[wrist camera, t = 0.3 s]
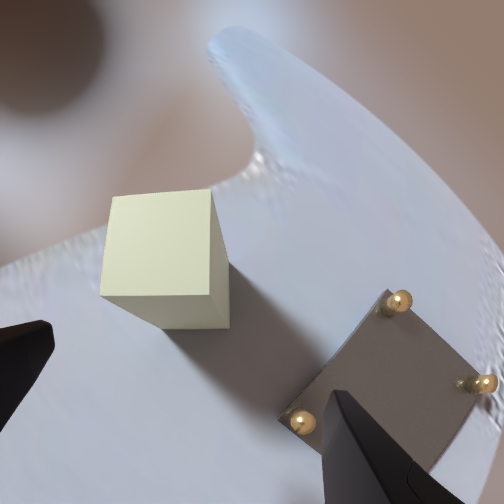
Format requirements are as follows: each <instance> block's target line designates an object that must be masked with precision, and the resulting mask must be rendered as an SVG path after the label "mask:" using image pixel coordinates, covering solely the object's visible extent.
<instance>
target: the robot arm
mask: <svg viewBox="0 0 504 504" xmlns="http://www.w3.org/2000/svg"><path fill="white" fill-rule="evenodd" d="M54 348H55V341H54V335H53V328H52V325H51V324H50V323H49V322H46V321H44V320H37V321H32V322H28V323H23V324H19V325H14V326H10V327H5V328H0V432H1V431H2V429H3V428H4V426H5V425H6V423H7V422H8V420H9V419H10V417H11V416H12V414H13V413H14V411H15V410H16V408H17V407H18V406H19V404H20V403H21V401H22V400H23V398H24V397H25V396H26V394H27V393H28V391H29V390H30V389H31V387H32V386H33V384H34V383H35V381H36V380H37V378H38V376H39V375H40V373H41V371H42V369H43V368H44V366H45V364H46V363H47V361H48V359H49V358H50V356H51V354H52V353H53V351H54ZM322 470H323V482H324V496H325V504H465V503H463V502H462V501H461V500H460V499H458V498H457V497H456V496H454V495H453V494H452V493H451V492H449V491H448V490H447V489H445V488H444V487H443V486H442V485H441V484H439V483H438V482H437V481H436V480H435V479H434V478H432V477H431V476H430V475H429V474H428V473H427V472H426V471H425V470H424V469H423V468H422V467H421V466H420V465H419V464H418V463H417V462H416V461H413V458H412V457H411V456H410V455H409V454H408V453H407V452H406V451H405V450H404V449H403V448H402V447H401V446H400V445H399V444H398V443H397V442H396V441H395V440H394V439H393V438H392V437H391V436H390V435H389V434H388V433H387V432H386V431H385V430H384V428H383V427H382V426H381V425H380V424H379V423H378V422H377V421H376V420H375V419H374V418H373V417H372V416H371V415H370V414H369V413H368V412H367V411H366V410H365V409H364V408H363V407H362V406H361V405H360V404H359V402H358V401H357V400H356V399H355V398H354V397H353V396H352V395H351V394H350V393H349V392H348V391H347V390H341V389H334V390H332V392H331V394H330V397H329V399H328V402H327V404H326V407H325V409H324V414H323V438H322Z"/></svg>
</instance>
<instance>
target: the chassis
mask: <svg viewBox="0 0 504 504" xmlns="http://www.w3.org/2000/svg"><path fill="white" fill-rule="evenodd" d="M412 302H413V300H412V296H411V294H410V293H409V292H408V291H406V290H399V291H398V292H396V293H395V294H393V293H391V292H390V291H389V290H388V289H387V290H385V291H384V292H383V293H382V294H381V296H380V297H379V298H378V300H377V301H376V302H375V304H374V305H373V306H372V308H371V309H370V310H369V312H368V313H367V314H366V316H365V317H364V318H363V320H362V321H361V322H360V323H359V325H358V326H357V327H356V329H355V330H354V331H353V332H352V334H351V335H350V336H349V337H348V339H347V340H346V341H345V342H344V343H343V345H342V346H341V347H340V348H339V350H338V351H337V352H336V353H335V354H334V356H333V357H332V358H331V359H330V360H329V361H328V363H327V364H326V365H325V366H324V367H323V368H322V370H321V371H320V372H319V373H318V374H317V375H316V376H315V378H314V379H313V380H312V381H311V382H310V383H309V384H308V385H307V387H306V388H305V389H304V390H303V391H302V392H301V393H300V394H299V395H298V396H297V397H296V398H295V400H294V401H293V402H292V403H291V404H290V405H289V406H288V407H287V408H286V409H285V410H284V411H283V412H282V413H281V414H280V415H279V416H278V417H277V419H278V421H280V422H281V423H282V424H283V425H284V426H286V427H287V428H288V429H289V430H291V431H292V432H293V433H294V434H295V435H297V436H298V437H299V438H300V439H302V440H303V441H304V442H305V443H307V444H308V445H309V446H311V447H312V448H313V449H314V450H316V451H317V452H318V453H320V454H321V455H322V438H323V414H324V409H325V407H326V404H327V402H328V399H329V397H330V394H331V392H332V390H334V389H341V390H347V391H348V392H349V393H350V394H351V395H352V396H353V397H354V398H355V399H356V400H357V401H358V402H359V404H360V405H361V406H362V407H363V408H364V409H365V410H366V411H367V412H368V413H369V414H370V415H371V416H372V417H373V418H374V419H375V420H376V421H377V422H378V423H379V424H380V425H381V426H382V427H383V428H384V430H385V431H386V432H387V433H388V434H389V435H390V436H391V437H392V438H393V439H394V440H395V441H396V442H397V443H398V444H399V445H400V446H401V447H402V448H403V449H404V450H405V451H406V452H407V453H408V454H409V455H410V456H411V457H412V458H413V461H416V462H417V463H418V464H419V465H420V466H421V467H422V468H423V469H424V470H425V471H427V470H428V469H429V468H430V466H431V465H432V464H433V462H434V461H435V460H436V459H437V457H438V456H439V455H440V453H441V452H442V450H443V449H444V448H445V446H446V445H447V443H448V442H449V441H450V439H451V438H452V436H453V435H454V433H455V432H456V430H457V429H458V427H459V426H460V424H461V423H462V421H463V420H464V418H465V416H466V415H467V413H468V412H469V410H470V408H471V407H472V405H473V403H474V402H475V400H476V398H477V396H478V395H479V393H493V392H494V391H495V390H496V389H497V386H498V378H497V376H496V375H494V374H490V375H480V374H479V373H478V372H477V371H476V370H475V369H474V368H473V367H472V366H471V365H470V364H469V363H468V362H467V361H466V360H464V359H463V358H462V357H461V356H460V355H459V354H458V353H457V352H456V351H455V350H454V349H453V348H452V347H451V346H450V345H449V344H448V343H447V342H446V341H445V340H443V339H442V338H441V337H440V336H439V335H438V334H437V333H436V332H435V331H434V330H433V329H432V328H431V327H429V326H428V325H427V324H426V323H425V322H424V321H423V320H422V319H421V318H420V317H418V316H417V315H416V314H415V313H414V312H413V311H412V310H411V309H410V307H411V306H412Z"/></svg>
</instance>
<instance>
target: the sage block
mask: <svg viewBox="0 0 504 504" xmlns="http://www.w3.org/2000/svg"><path fill="white" fill-rule="evenodd" d="M99 296H101V297H103V298H104V299H106V300H108V301H110V302H112V303H113V304H115V305H117V306H119V307H121V308H122V309H124V310H126V311H128V312H130V313H132V314H133V315H135V316H137V317H139V318H141V319H143V320H145V321H147V322H149V323H151V324H152V325H154V326H156V327H158V328H160V329H230V305H229V260H228V256H227V252H226V248H225V244H224V240H223V236H222V232H221V228H220V224H219V220H218V216H217V212H216V208H215V204H214V199H213V195H212V191H211V189H204V190H189V191H175V192H162V193H150V194H139V195H128V196H119V197H113V200H112V205H111V211H110V217H109V223H108V229H107V236H106V242H105V250H104V257H103V265H102V274H101V284H100V294H99Z"/></svg>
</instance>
